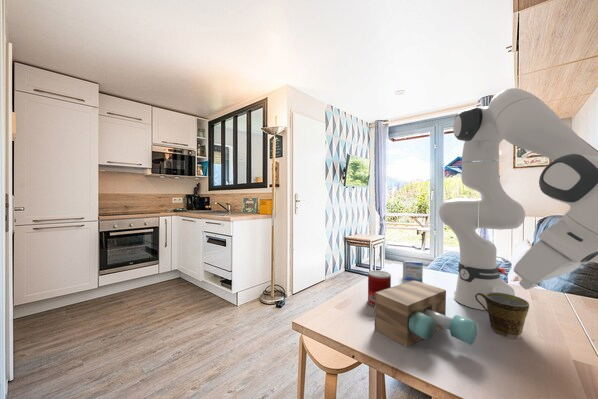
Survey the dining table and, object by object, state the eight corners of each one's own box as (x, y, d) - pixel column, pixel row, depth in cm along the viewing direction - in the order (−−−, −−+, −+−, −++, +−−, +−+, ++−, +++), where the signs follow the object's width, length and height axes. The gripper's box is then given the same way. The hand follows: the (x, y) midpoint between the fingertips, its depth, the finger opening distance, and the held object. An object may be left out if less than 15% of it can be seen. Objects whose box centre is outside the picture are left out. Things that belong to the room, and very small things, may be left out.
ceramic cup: (533, 335, 72) (534, 301, 72) (521, 346, 67) (522, 309, 67) (481, 316, 83) (482, 286, 83) (467, 325, 78) (468, 293, 78)
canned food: (391, 308, 89) (392, 277, 89) (368, 306, 91) (369, 275, 90) (388, 299, 96) (389, 271, 96) (367, 297, 98) (367, 269, 98)
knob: (424, 318, 75) (425, 299, 75) (477, 340, 64) (477, 318, 64) (413, 323, 72) (414, 304, 72) (467, 347, 61) (467, 325, 61)
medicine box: (404, 280, 118) (405, 262, 118) (402, 277, 123) (402, 259, 123) (422, 281, 117) (423, 262, 117) (419, 278, 122) (420, 260, 121)
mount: (413, 311, 86) (413, 280, 86) (460, 331, 74) (461, 294, 74) (374, 328, 75) (375, 292, 75) (422, 355, 63) (423, 312, 63)
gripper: (581, 226, 54) (532, 268, 61) (539, 230, 44) (486, 280, 52) (619, 247, 49) (561, 290, 56) (581, 257, 40) (517, 307, 47)
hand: (525, 285), depth 54 cm, fingers closed
